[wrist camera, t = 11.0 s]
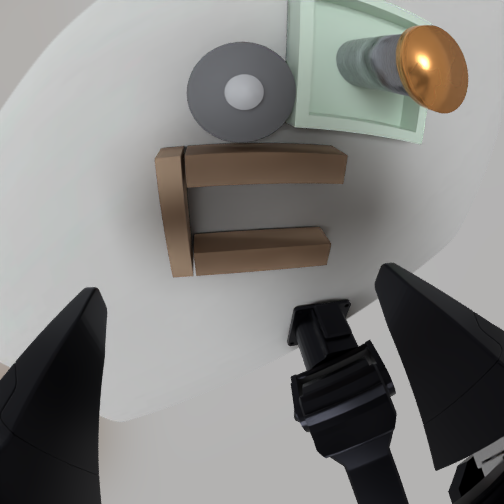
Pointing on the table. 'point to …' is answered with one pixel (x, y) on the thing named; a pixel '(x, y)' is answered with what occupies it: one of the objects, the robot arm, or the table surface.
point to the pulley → (241, 92)
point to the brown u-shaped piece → (237, 173)
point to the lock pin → (409, 66)
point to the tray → (329, 78)
